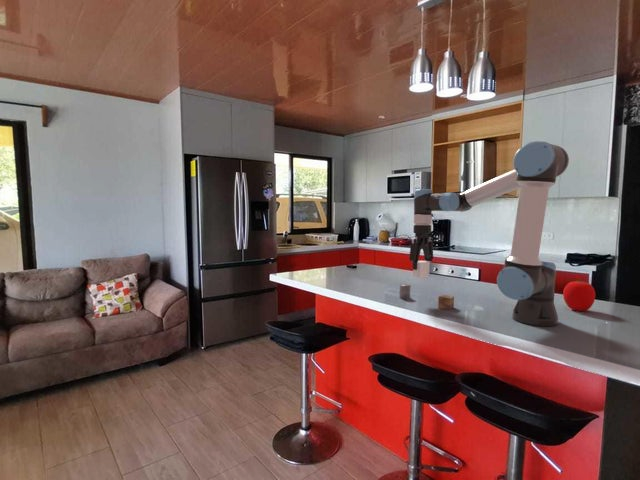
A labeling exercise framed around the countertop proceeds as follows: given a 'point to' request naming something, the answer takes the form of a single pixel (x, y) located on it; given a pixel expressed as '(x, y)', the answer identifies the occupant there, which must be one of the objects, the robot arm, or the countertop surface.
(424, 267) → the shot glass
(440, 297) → the walnut block
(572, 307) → the tomato
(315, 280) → the countertop surface
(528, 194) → the robot arm
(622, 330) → the countertop surface
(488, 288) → the countertop surface
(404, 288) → the dark grey cylinder
